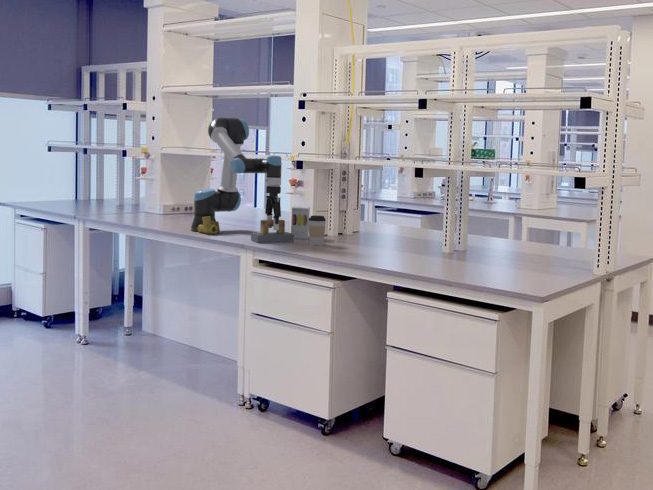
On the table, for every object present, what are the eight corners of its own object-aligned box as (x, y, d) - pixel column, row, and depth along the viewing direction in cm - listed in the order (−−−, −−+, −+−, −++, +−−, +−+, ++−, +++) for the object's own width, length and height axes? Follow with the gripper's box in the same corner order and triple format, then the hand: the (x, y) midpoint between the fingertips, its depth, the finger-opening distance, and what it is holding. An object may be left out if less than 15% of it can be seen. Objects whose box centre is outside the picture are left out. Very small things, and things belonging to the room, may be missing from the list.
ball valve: (211, 236, 396) (225, 233, 403) (208, 218, 394) (222, 214, 401) (197, 235, 404) (211, 232, 411) (194, 217, 402) (208, 214, 409)
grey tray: (257, 243, 371) (257, 235, 370) (251, 240, 380) (251, 232, 379) (293, 241, 380) (293, 234, 379) (286, 239, 388) (286, 232, 388)
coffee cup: (305, 244, 370) (305, 215, 368) (311, 242, 379) (311, 214, 377) (321, 246, 368) (322, 216, 365) (327, 244, 376) (328, 215, 374)
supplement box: (290, 238, 393) (291, 207, 391) (291, 236, 402) (292, 206, 400) (308, 239, 393) (308, 208, 390) (309, 237, 402) (310, 206, 399)
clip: (262, 242, 375) (263, 220, 374) (260, 241, 379) (260, 220, 377) (284, 241, 381) (284, 220, 379) (281, 240, 384) (282, 219, 383)
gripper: (259, 184, 384) (258, 226, 387) (274, 187, 364) (273, 231, 368) (272, 184, 387) (271, 226, 390) (288, 187, 368) (287, 231, 371)
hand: (272, 229), depth 379 cm, fingers open, 9 cm apart
